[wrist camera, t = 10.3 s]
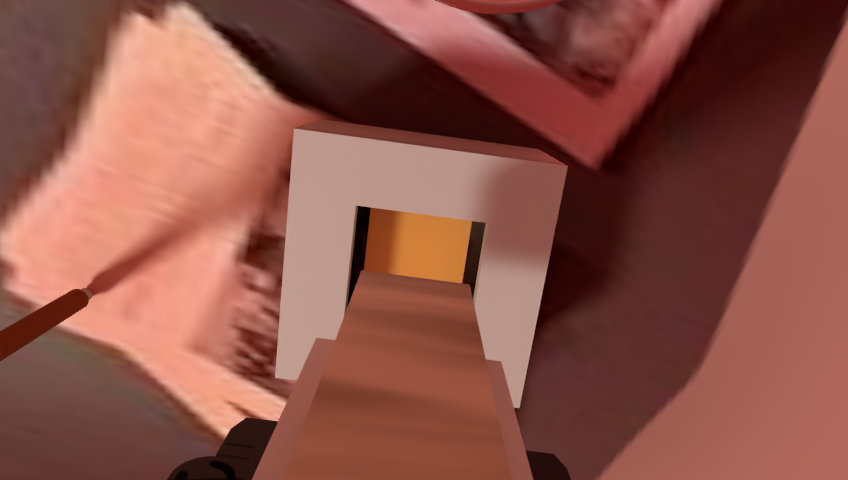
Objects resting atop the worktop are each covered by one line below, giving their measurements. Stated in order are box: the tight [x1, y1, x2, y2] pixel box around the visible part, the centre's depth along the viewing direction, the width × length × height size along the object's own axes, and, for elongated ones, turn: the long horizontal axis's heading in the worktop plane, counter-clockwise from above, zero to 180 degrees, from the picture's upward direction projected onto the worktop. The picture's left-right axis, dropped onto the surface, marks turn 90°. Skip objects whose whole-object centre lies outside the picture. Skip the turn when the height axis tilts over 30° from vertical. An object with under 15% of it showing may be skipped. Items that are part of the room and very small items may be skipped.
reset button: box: [364, 208, 472, 283], centre depth 30 cm, size 5×5×3 cm
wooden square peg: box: [283, 270, 512, 480], centre depth 13 cm, size 4×4×17 cm
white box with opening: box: [275, 119, 568, 408], centre depth 30 cm, size 12×12×7 cm
